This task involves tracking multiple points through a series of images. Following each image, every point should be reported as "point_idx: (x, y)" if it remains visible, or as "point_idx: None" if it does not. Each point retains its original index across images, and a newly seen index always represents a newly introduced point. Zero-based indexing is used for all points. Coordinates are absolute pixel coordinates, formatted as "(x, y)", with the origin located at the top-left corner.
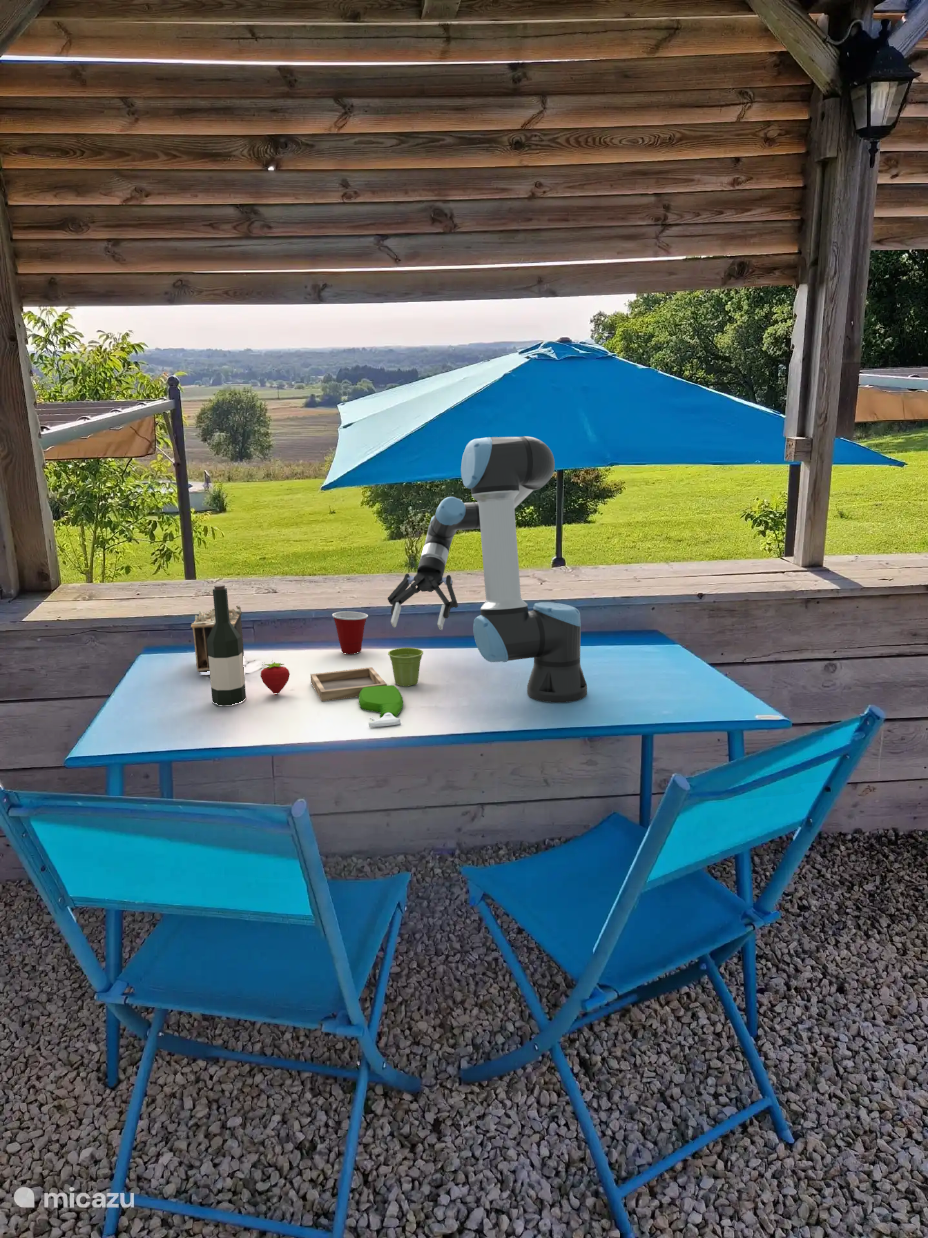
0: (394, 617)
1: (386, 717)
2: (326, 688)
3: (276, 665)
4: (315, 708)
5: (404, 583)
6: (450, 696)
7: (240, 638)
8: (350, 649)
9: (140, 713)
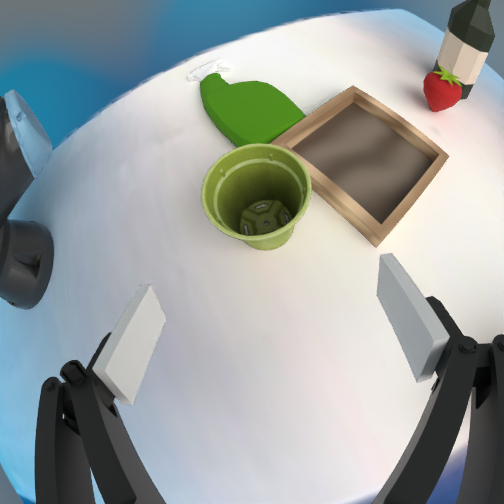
0: (390, 271)
1: (205, 70)
2: (391, 138)
3: (442, 73)
4: (336, 77)
5: (488, 498)
6: (149, 188)
7: (466, 24)
8: None
9: None
